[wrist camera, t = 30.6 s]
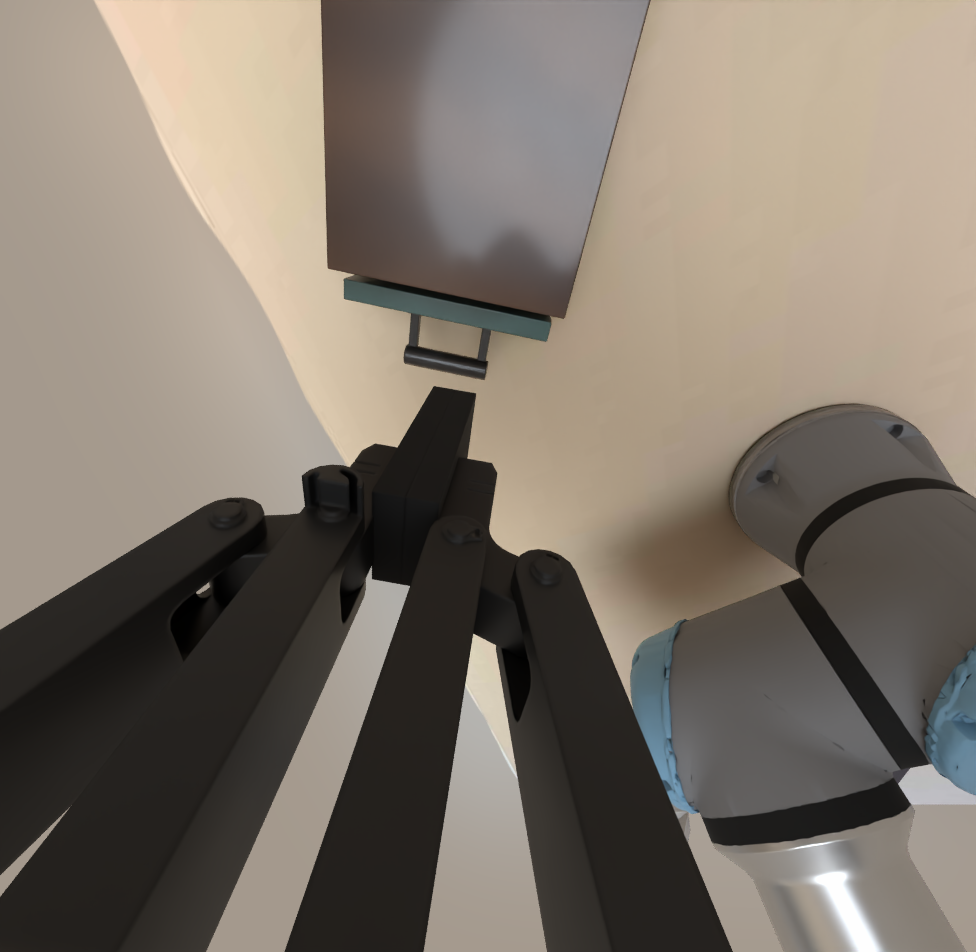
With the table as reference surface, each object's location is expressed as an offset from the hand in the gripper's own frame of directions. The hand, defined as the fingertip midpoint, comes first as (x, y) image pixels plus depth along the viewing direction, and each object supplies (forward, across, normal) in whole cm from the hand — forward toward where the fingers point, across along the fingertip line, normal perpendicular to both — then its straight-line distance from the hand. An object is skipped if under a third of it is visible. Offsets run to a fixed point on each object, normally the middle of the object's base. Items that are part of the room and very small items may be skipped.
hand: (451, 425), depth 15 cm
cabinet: (+22, +2, -12) cm, 25 cm away
